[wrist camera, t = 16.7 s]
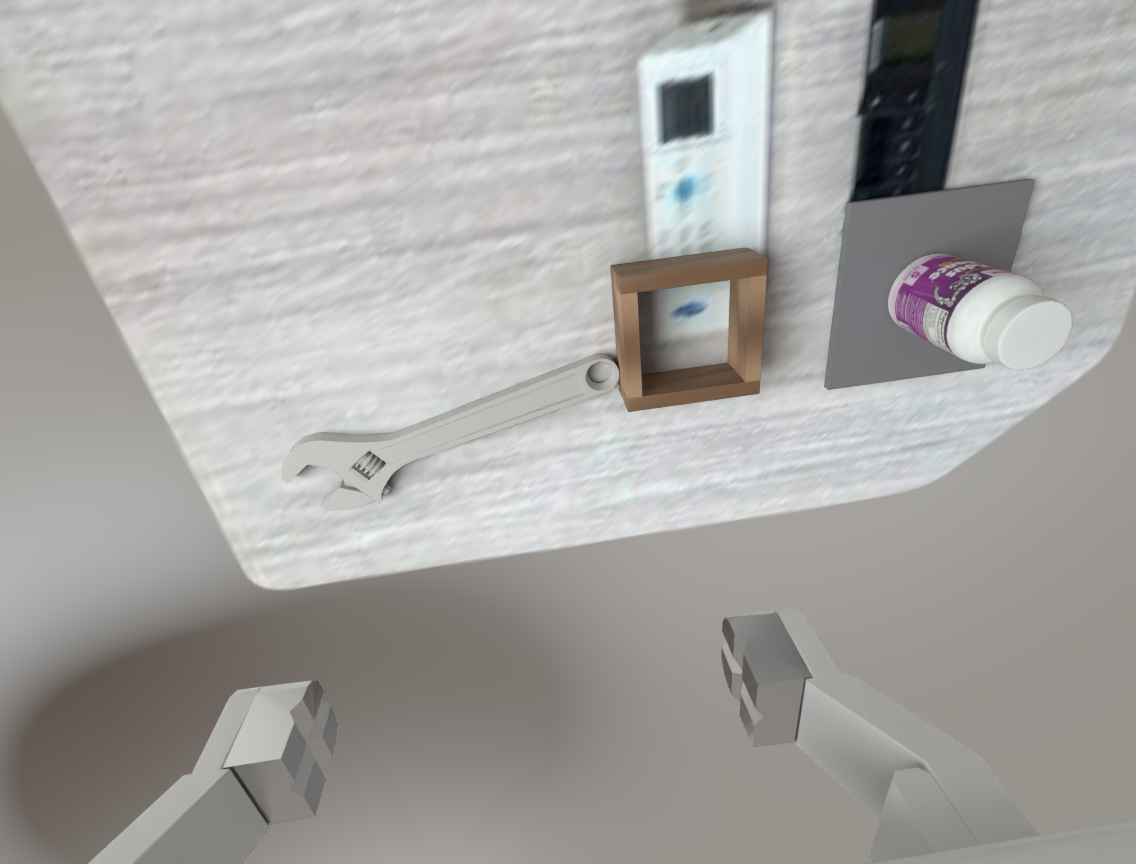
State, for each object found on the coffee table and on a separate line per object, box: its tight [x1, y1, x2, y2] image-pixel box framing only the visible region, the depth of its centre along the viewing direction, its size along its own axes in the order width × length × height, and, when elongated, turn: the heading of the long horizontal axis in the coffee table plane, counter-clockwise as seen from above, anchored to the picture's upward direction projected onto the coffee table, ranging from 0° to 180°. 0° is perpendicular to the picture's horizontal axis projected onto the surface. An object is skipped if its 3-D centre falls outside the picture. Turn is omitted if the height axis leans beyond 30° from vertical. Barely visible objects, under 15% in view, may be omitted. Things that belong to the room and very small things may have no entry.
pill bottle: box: [888, 254, 1072, 370], centre depth 35 cm, size 5×5×10 cm
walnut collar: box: [611, 248, 768, 412], centre depth 37 cm, size 9×9×4 cm
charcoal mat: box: [824, 179, 1035, 390], centre depth 39 cm, size 13×12×1 cm
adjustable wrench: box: [282, 354, 619, 510], centre depth 41 cm, size 25×6×2 cm, turn 105°
